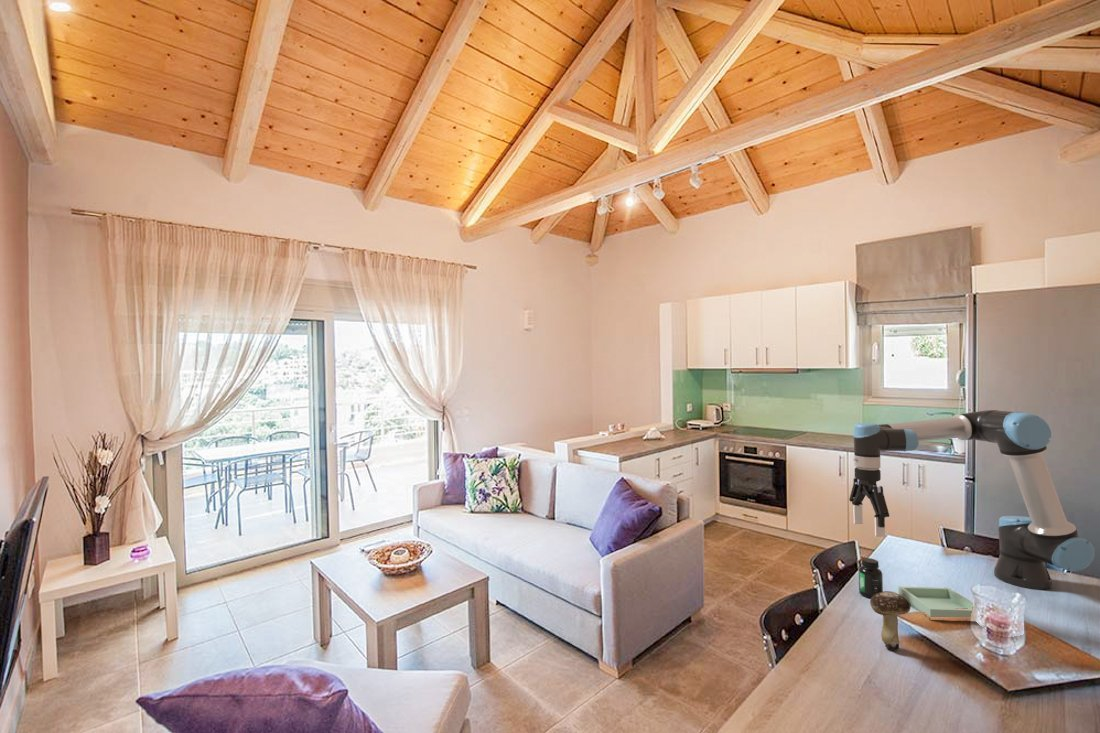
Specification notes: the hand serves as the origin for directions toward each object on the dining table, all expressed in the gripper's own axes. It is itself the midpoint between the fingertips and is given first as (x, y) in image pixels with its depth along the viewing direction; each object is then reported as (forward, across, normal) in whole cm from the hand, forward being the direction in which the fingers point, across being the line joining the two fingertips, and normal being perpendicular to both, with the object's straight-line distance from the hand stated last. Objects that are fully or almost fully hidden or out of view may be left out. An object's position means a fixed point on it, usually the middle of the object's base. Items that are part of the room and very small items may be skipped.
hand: (868, 529), depth 165 cm
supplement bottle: (+23, 0, 0) cm, 23 cm away
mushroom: (+23, +33, -12) cm, 42 cm away
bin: (+22, +8, +17) cm, 29 cm away
